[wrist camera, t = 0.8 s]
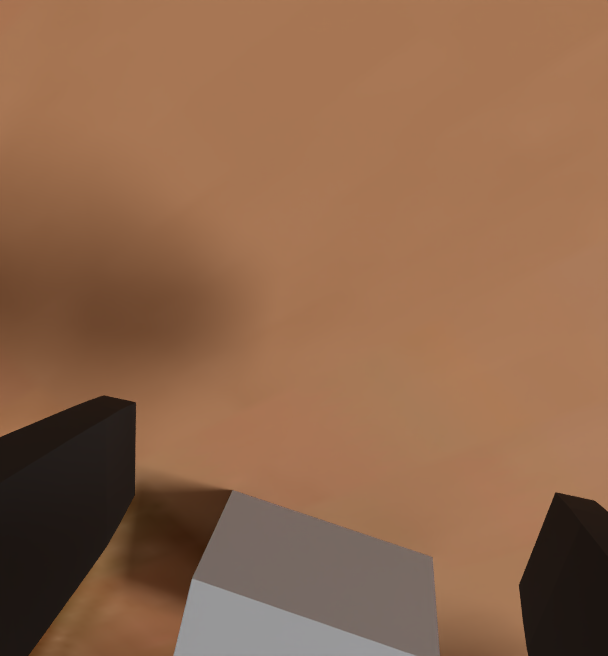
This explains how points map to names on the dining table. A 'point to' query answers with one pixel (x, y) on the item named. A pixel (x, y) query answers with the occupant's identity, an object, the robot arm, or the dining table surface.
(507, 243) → the dining table surface
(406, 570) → the block
